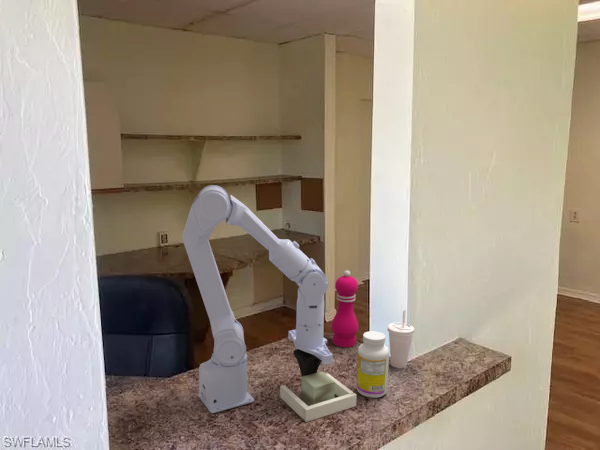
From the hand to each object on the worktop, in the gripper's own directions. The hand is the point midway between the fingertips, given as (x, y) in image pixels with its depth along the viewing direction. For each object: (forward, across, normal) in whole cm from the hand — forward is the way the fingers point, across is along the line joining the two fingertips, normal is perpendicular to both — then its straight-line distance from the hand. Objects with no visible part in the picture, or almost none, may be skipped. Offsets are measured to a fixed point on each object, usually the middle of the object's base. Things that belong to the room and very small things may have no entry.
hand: (308, 382), depth 104 cm
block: (+2, -4, 0) cm, 4 cm away
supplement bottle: (+3, -6, -13) cm, 14 cm away
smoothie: (+3, +1, -26) cm, 27 cm away
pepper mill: (+3, +18, -22) cm, 29 cm away
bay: (+2, -4, 0) cm, 4 cm away
